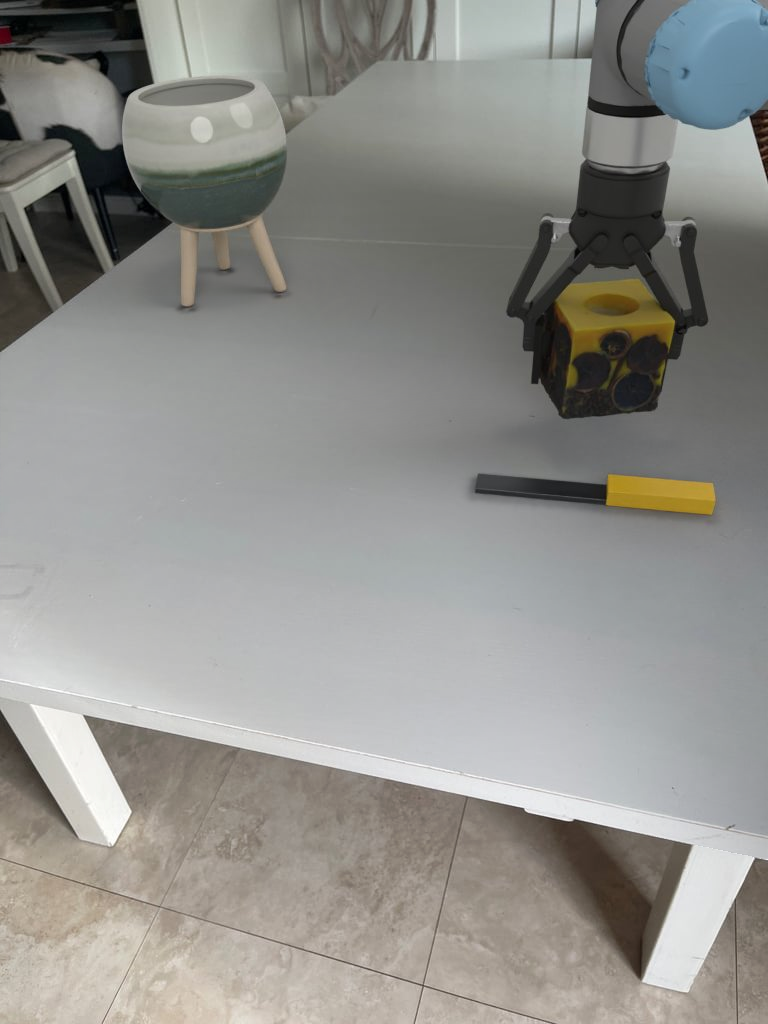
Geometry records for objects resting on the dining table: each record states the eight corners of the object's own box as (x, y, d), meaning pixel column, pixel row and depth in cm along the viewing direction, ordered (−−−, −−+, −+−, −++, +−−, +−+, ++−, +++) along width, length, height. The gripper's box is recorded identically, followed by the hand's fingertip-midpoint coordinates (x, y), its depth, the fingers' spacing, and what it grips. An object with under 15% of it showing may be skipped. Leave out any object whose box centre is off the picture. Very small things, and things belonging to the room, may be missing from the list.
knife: (709, 497, 80) (712, 483, 79) (711, 515, 78) (715, 500, 77) (478, 477, 84) (478, 463, 83) (474, 493, 82) (475, 479, 81)
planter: (217, 252, 136) (184, 68, 119) (329, 271, 128) (311, 76, 110) (128, 305, 122) (75, 104, 104) (248, 331, 113) (212, 117, 95)
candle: (533, 372, 88) (540, 284, 81) (624, 363, 88) (638, 275, 82) (559, 422, 80) (569, 330, 73) (659, 412, 80) (677, 320, 74)
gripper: (766, 149, 70) (713, 370, 84) (491, 146, 74) (483, 356, 88) (781, 176, 64) (721, 408, 78) (482, 171, 69) (475, 392, 83)
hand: (595, 381), depth 83 cm, fingers closed on candle, 11 cm apart
